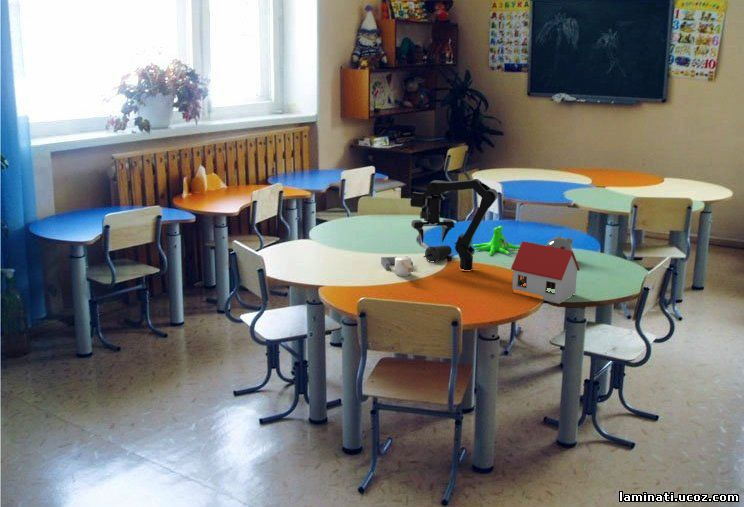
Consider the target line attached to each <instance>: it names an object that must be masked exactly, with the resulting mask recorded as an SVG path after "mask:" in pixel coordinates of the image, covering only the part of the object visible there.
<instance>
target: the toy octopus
mask: <svg viewBox="0 0 744 507" xmlns="http://www.w3.org/2000/svg"><path fill="white" fill-rule="evenodd" d="M503 229H504V227H503V225H499V226H496V227H494V228H493V236H492V238H491V240H490V241H489V242H482V243H478V244H477V243H474V244H471V246H472V247H475V248H474V250H475V251H488V253H489V254H488V256H489V257H490V256H491V257H492V256H493V255H494V254H495V253H496V252H498V253H504V254H506V255H509V254H510V251H508V250H510V249H512V250H519V248H520V245H514V244H512V243H511V242H507V241H506V236H505V235H503V232H502V230H503Z"/></svg>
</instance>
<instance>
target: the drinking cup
mask: <svg viewBox="0 0 744 507" xmlns="http://www.w3.org/2000/svg"><path fill="white" fill-rule="evenodd" d="M452 253H453V250H452V247H451V246H450V245H447V244H446V245H438V246H437V245H436V246H433V245H431V246H428V247H427V248H426V249H425V251H424V255H423V258H425V259H426V260H427V261H428V260H429V261H428V262H430V261H434V262H433V263H436V262H438V261H440V260H441V259H443V258H446V257H448V256H450V255H451V254H452Z"/></svg>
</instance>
